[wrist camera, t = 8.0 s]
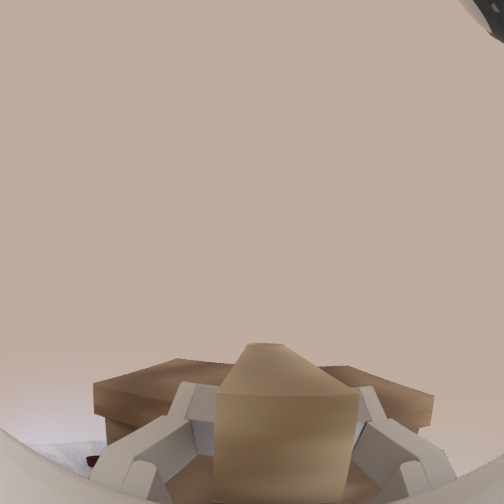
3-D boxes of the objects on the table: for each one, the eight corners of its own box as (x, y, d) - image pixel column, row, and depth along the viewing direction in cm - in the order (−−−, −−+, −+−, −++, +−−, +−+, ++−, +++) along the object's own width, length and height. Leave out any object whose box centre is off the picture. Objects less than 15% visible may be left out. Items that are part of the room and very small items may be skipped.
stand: (322, 526, 22) (348, 365, 29) (351, 606, 5) (434, 395, 12) (179, 519, 23) (177, 358, 30) (140, 596, 6) (93, 383, 13)
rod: (280, 375, 23) (282, 343, 24) (341, 501, 4) (359, 393, 5) (247, 374, 24) (249, 342, 24) (212, 502, 4) (215, 392, 5)
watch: (90, 473, 29) (88, 458, 30) (85, 461, 33) (82, 446, 34) (129, 471, 34) (127, 457, 35) (121, 460, 38) (119, 446, 39)
